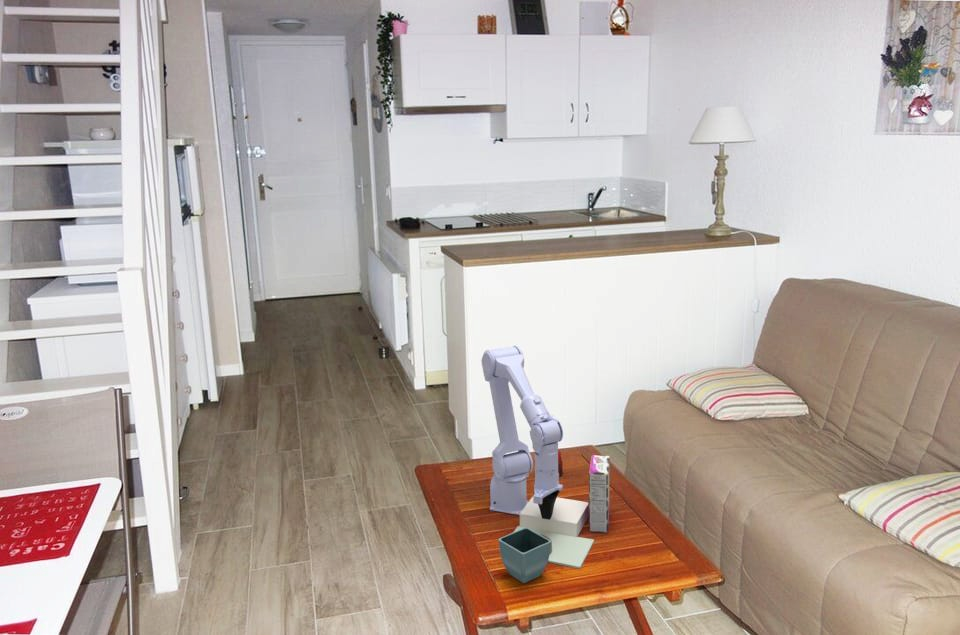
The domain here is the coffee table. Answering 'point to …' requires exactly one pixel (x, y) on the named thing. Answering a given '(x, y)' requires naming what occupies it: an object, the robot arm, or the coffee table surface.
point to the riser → (557, 517)
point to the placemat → (566, 548)
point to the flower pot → (524, 554)
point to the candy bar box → (599, 494)
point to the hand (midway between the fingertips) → (546, 517)
